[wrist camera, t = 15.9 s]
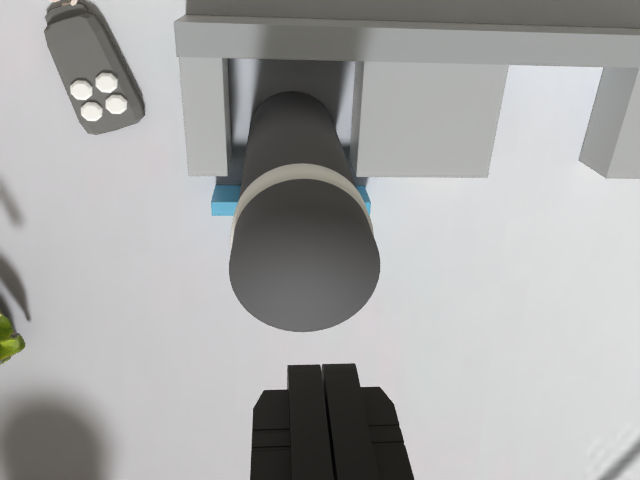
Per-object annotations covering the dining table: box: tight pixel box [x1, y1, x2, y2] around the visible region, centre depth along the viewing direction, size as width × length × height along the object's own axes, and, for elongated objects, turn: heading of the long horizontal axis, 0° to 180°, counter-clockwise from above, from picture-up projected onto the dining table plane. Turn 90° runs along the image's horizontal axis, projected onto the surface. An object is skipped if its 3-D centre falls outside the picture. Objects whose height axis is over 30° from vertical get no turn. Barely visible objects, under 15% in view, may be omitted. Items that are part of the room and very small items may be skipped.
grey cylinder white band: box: [229, 91, 380, 332], centre depth 24 cm, size 5×5×15 cm
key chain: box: [44, 0, 145, 135], centre depth 26 cm, size 13×4×2 cm, turn 15°
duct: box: [174, 15, 640, 216], centre depth 29 cm, size 25×10×4 cm, turn 88°
